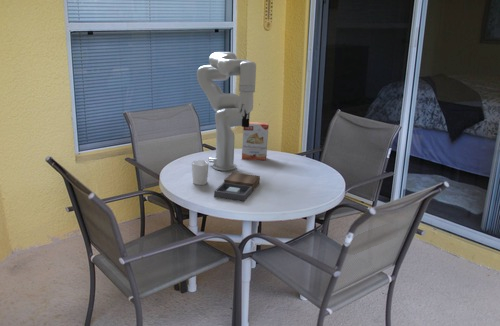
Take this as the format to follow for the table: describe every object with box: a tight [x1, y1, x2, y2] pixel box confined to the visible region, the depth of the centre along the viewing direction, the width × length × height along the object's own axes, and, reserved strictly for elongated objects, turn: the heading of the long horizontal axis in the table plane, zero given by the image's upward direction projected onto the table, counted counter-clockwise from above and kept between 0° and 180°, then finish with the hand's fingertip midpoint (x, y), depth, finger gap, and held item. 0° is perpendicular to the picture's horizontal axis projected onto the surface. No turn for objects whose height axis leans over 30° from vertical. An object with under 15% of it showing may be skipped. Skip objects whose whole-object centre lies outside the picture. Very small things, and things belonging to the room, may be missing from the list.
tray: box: [213, 181, 253, 203], centre depth 223 cm, size 14×12×3 cm
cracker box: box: [241, 121, 270, 161], centre depth 276 cm, size 14×6×21 cm, turn 90°
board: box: [223, 171, 261, 193], centre depth 235 cm, size 14×12×4 cm
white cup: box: [191, 160, 210, 186], centre depth 236 cm, size 8×8×10 cm
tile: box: [226, 187, 240, 194], centre depth 223 cm, size 5×5×2 cm
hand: (245, 126), depth 236 cm, fingers closed
